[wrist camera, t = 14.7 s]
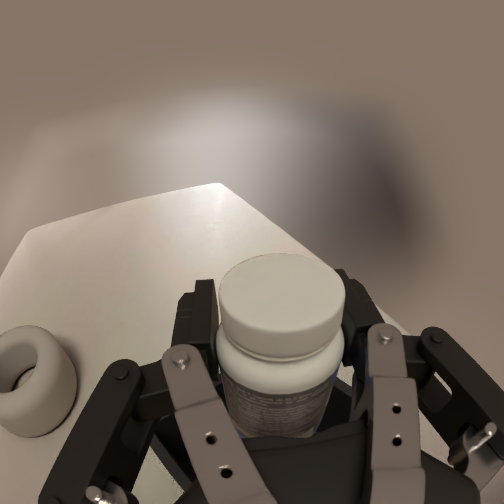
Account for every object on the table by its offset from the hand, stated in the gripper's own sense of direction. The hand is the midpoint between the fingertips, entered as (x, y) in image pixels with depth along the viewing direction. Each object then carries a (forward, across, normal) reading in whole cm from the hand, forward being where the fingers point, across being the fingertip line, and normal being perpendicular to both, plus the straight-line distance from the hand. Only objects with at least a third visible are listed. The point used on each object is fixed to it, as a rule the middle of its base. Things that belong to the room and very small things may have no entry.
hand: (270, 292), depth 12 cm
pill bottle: (-3, 0, +6) cm, 7 cm away
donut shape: (+5, +30, +20) cm, 36 cm away
